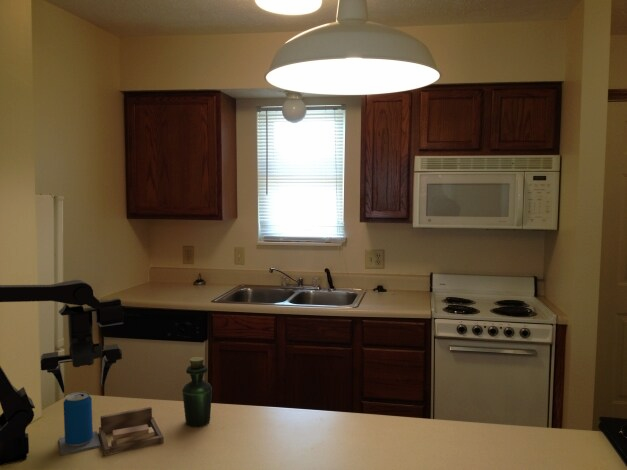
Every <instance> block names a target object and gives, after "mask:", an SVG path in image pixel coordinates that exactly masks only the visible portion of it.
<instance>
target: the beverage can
mask: <svg viewBox="0 0 627 470" xmlns="http://www.w3.org/2000/svg"><path fill="white" fill-rule="evenodd" d="M90 395H91V394H90V393H89V392H88V391H75V392H71V393H68V394H67V395H66V396H65V397H64V398H65V399H64V400H63V423H64V424H63V426H64V428H63V429H64V430H63V431H64V437H65V443H66V444H69V445H70V446H81V445H84V444H86V443H88V442H89V441H90V440H91V439H92V438H93V431H94V430H93V429H94V428H93V404H92V403H93V402H92V397H91V396H90Z"/></svg>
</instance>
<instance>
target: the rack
mask: <svg viewBox="0 0 627 470" xmlns="http://www.w3.org/2000/svg"><path fill="white" fill-rule="evenodd" d="M141 425H148V426H149V425H150V427H152V429H153V430H154V434H155V437H151V438H146V439H142V440H137V441H132V442H128V443H123V444H118V445H114V446H111V445H110V446H109V443H108V440H107V435H106V434H109V433H113V430H118V429H124V428H129V427H135V426H141ZM98 436H99V439H100V441H101V442H100V443H101V446H102V450H103V453H104V456H110V455H112V454H117V453H120V452H125V451H130V450H136V449H139V448H140V449H141V448H144V447H147V446H148V447H149V446H153V445H158V444H164V443H165V438H164V435H163V433H162V431H161V429H160V427H159V426H158V424H157V421H156V420H155V418H154V417H153V409H152V406H148V407H142V408H138V409H137V408H136V409H132V410H127V411H121V412H116V413H115V412H114V413H111V414H105V415H100V426H99V427H98Z"/></svg>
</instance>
